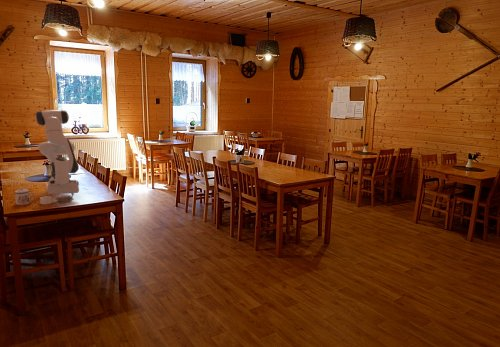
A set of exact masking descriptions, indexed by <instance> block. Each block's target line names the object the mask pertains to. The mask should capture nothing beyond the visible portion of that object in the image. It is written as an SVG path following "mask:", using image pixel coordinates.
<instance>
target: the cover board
mask: <svg viewBox="0 0 500 347" xmlns="http://www.w3.org/2000/svg"><path fill="white" fill-rule="evenodd" d="M70 196H72V195H71V194H66V195H60V196H58V197H59V198H58V200H57V201H58V203H57V204H66V203H65V202H68V201H69V200H70Z"/></svg>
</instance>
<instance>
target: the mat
mask: <svg viewBox="0 0 500 347" xmlns="http://www.w3.org/2000/svg"><path fill="white" fill-rule="evenodd" d="M73 201H74V198H73V199H70V200H69V201H68V202H65V203H64V204H71V203H72V202H73ZM55 204H59V203H58V200H56V201H55Z"/></svg>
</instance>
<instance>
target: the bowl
mask: <svg viewBox="0 0 500 347" xmlns="http://www.w3.org/2000/svg"><path fill="white" fill-rule="evenodd" d="M39 202H40V203H39V204H41V205H49V204H51V203H53V202H52V196H50V195H49V196H46V195H44V196H41V197H39Z"/></svg>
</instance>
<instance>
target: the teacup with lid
mask: <svg viewBox="0 0 500 347" xmlns="http://www.w3.org/2000/svg"><path fill="white" fill-rule="evenodd" d="M13 192H14V197H15V204H16V206H26V205H28V204H29V205H30V204H31V200H33V199H34V198H35V193H34V192H31V191H30V190H29V189H27V188H24V187H23V186H20V187H19V189H17V190H15V191H13ZM30 194H32V197H30Z"/></svg>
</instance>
